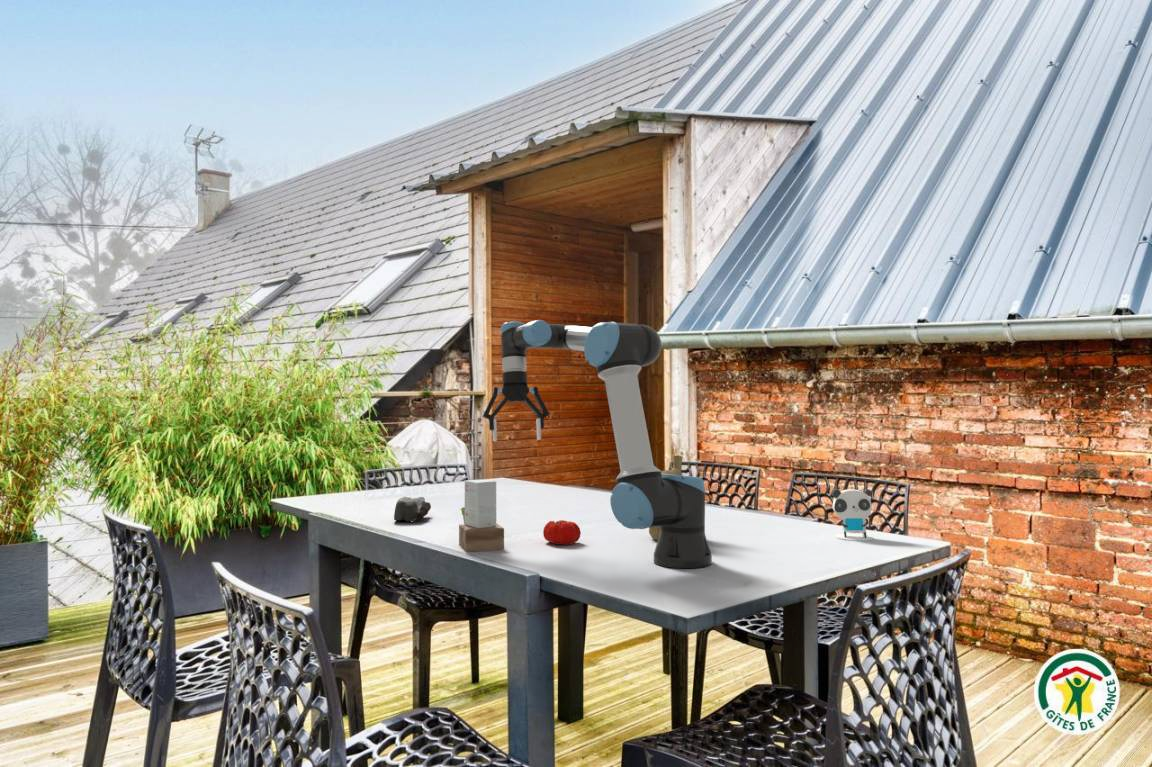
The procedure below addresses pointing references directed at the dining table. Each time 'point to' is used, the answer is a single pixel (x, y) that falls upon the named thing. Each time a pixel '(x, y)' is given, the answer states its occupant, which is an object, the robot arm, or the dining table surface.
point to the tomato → (561, 532)
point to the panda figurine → (852, 513)
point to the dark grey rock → (411, 508)
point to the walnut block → (481, 538)
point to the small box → (480, 503)
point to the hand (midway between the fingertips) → (517, 440)
